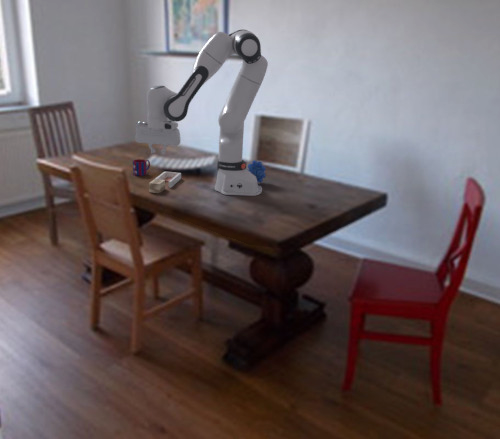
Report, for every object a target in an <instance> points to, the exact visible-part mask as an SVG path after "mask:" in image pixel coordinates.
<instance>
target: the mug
mask: <svg viewBox="0 0 500 439" xmlns="http://www.w3.org/2000/svg"><path fill="white" fill-rule="evenodd" d="M147 163H148V164H147ZM150 167H151V162H150V160H148V159H141V158H139V159H134V160H132V174H133V175H134V176H139V177H143V176H146V175H147V171H148V170H149V169H150Z"/></svg>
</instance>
